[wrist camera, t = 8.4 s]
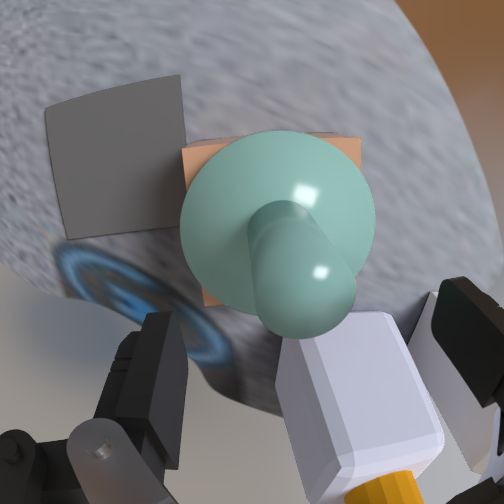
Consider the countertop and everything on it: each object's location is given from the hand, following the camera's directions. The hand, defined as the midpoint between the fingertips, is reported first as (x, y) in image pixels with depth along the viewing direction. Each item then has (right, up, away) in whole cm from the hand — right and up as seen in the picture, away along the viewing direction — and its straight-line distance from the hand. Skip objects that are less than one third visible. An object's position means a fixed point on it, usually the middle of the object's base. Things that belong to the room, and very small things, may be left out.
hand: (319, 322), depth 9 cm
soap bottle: (+7, -7, +19) cm, 21 cm away
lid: (0, +3, +8) cm, 9 cm away
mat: (-11, +8, +11) cm, 17 cm away
